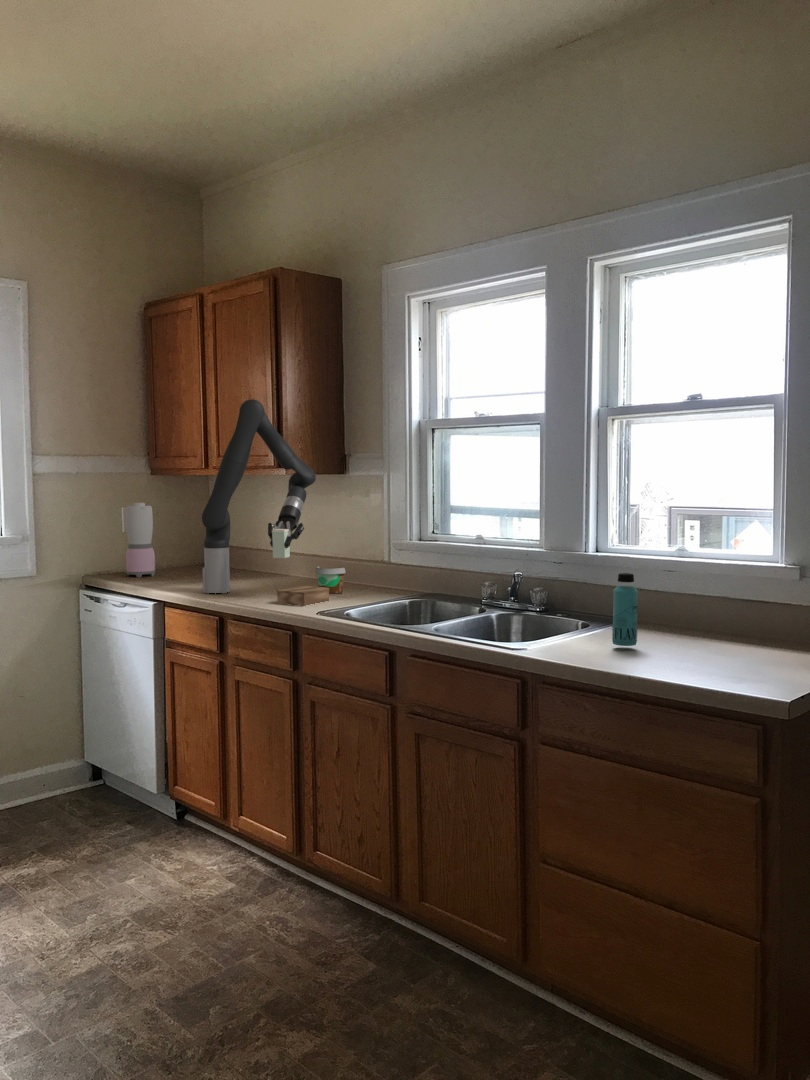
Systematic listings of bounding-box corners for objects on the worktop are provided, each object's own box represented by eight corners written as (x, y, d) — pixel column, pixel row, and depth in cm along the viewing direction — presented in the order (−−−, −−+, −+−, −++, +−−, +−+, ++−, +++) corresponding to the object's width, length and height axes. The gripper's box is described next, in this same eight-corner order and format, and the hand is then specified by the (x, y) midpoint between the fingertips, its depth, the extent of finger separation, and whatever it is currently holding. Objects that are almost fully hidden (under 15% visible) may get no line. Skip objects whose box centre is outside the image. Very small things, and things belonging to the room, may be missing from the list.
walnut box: (277, 604, 309) (276, 590, 309) (302, 599, 321) (302, 585, 321) (304, 607, 303) (304, 592, 302) (329, 602, 315) (329, 587, 314)
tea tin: (272, 557, 318) (271, 529, 317) (277, 556, 322) (277, 528, 322) (284, 558, 317) (284, 530, 316) (290, 556, 321) (289, 529, 320)
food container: (309, 594, 332) (308, 567, 331) (318, 592, 337) (318, 565, 337) (337, 596, 326) (336, 569, 325) (345, 594, 332) (345, 567, 331)
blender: (160, 575, 389) (158, 502, 386) (134, 578, 380) (132, 503, 378) (144, 572, 400) (141, 501, 398) (118, 574, 392) (116, 502, 389)
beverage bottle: (610, 650, 229) (611, 574, 228) (613, 645, 236) (614, 571, 234) (635, 652, 227) (637, 575, 225) (638, 647, 233) (640, 572, 232)
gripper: (270, 504, 327) (257, 539, 316) (306, 504, 323) (294, 540, 313) (276, 517, 332) (264, 552, 322) (312, 517, 329) (300, 553, 318)
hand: (279, 546), depth 317 cm, fingers closed on tea tin, 4 cm apart
